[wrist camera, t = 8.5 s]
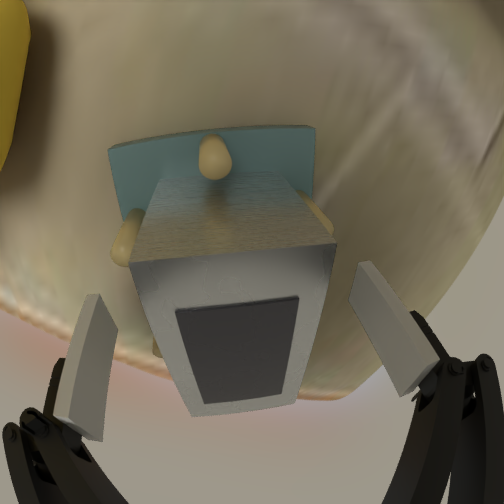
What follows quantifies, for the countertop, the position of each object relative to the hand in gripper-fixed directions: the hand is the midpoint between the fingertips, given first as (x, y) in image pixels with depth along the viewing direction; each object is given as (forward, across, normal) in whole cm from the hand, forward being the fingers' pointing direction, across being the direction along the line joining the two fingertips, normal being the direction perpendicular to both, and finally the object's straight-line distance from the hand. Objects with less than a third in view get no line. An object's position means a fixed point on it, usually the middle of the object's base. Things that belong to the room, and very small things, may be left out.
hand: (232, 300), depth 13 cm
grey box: (+4, 0, 0) cm, 4 cm away
